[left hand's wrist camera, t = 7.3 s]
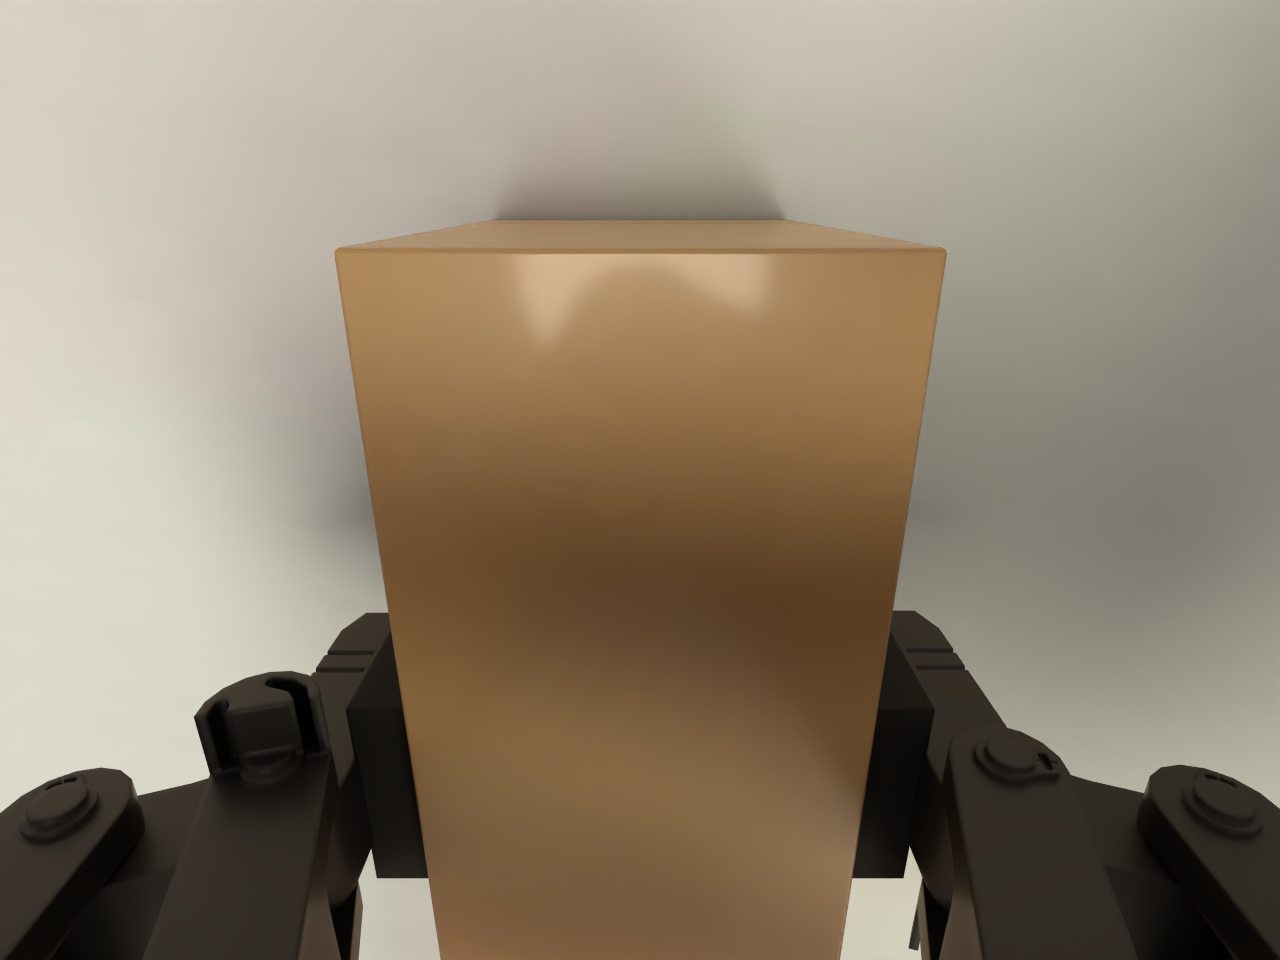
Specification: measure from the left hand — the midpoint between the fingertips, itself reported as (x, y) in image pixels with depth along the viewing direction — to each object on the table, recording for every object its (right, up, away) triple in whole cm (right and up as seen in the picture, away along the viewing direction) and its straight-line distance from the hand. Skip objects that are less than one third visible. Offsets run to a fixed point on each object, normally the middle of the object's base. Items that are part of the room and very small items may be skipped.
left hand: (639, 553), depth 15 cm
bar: (0, -29, +12) cm, 32 cm away
